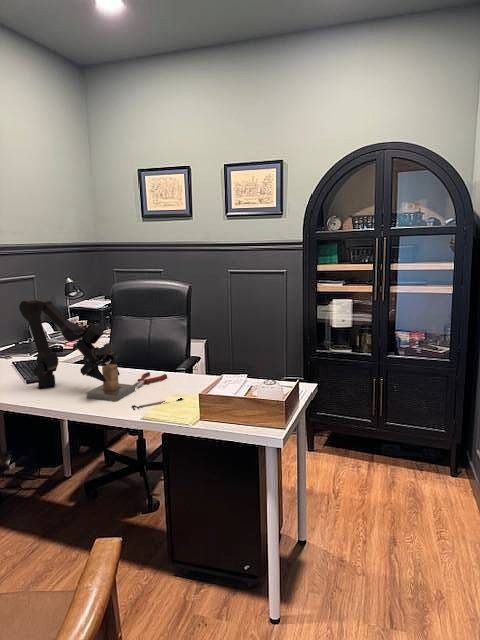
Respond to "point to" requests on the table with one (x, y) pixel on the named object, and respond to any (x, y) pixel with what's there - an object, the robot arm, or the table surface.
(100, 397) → the post plate
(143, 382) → the pliers
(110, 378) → the walnut peg
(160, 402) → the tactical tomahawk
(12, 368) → the table surface
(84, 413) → the table surface
